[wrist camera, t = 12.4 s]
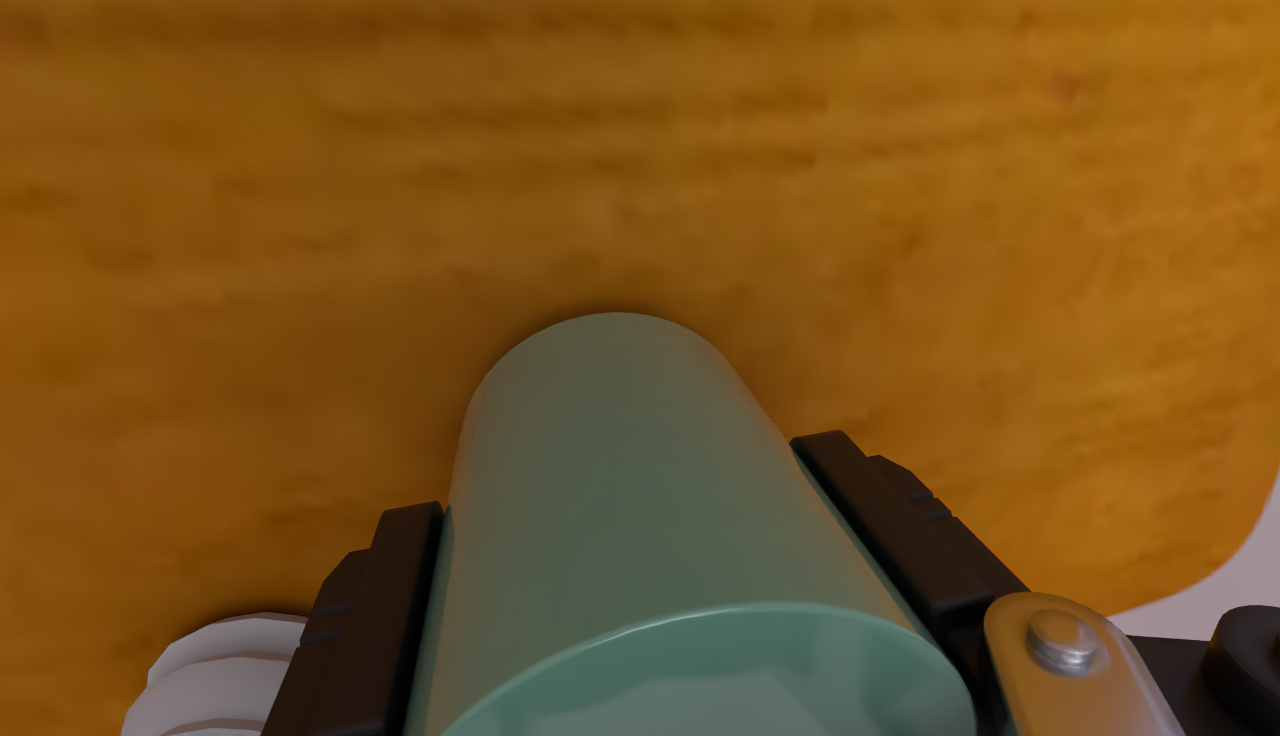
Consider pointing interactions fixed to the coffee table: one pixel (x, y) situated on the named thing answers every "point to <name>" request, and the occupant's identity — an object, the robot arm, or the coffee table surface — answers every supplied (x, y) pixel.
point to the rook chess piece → (218, 678)
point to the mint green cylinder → (657, 563)
